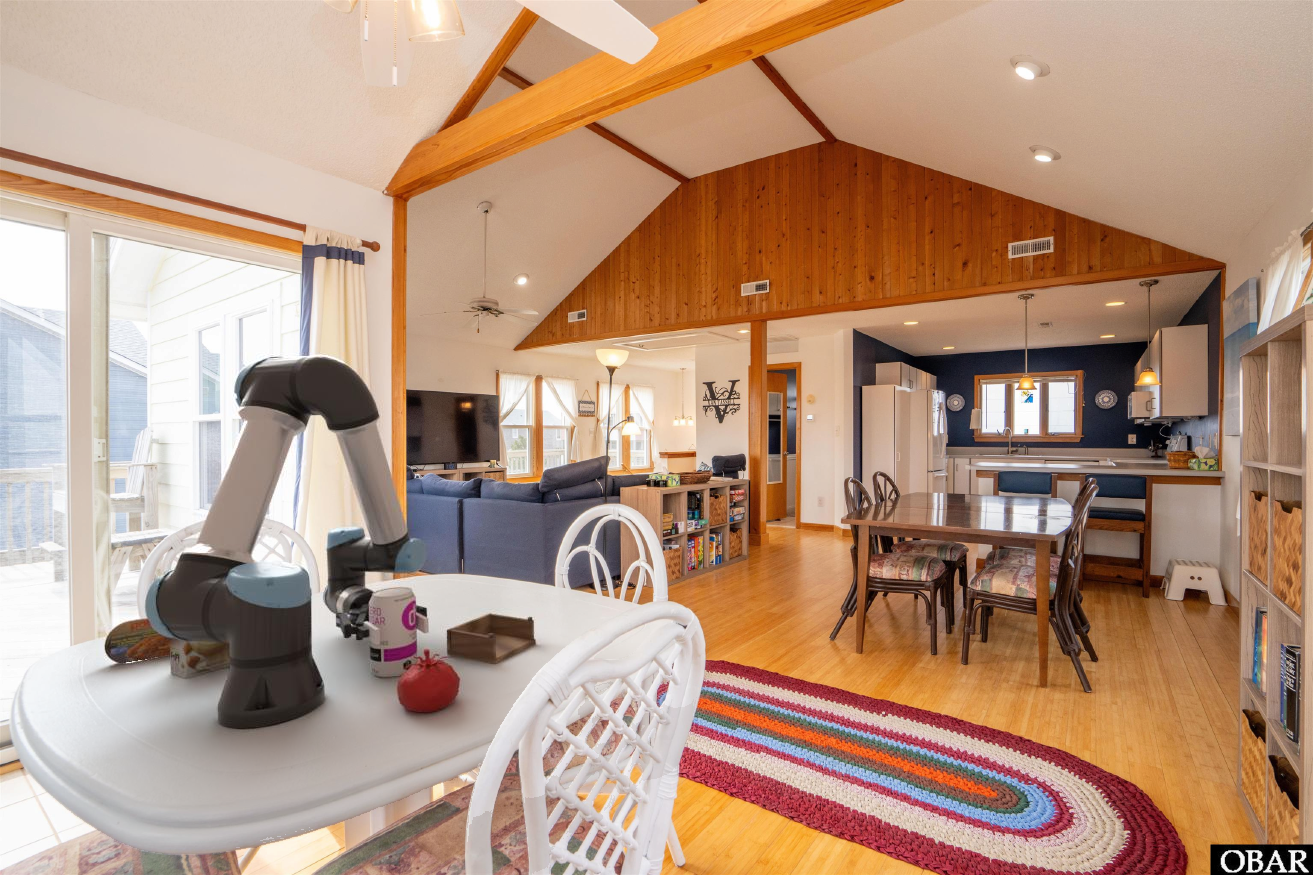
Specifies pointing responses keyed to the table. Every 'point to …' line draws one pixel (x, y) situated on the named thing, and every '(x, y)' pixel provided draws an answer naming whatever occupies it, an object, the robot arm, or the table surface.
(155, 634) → the tin
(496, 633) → the tray
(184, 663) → the coffee box
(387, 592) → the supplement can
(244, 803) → the table surface
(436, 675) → the red tomato
